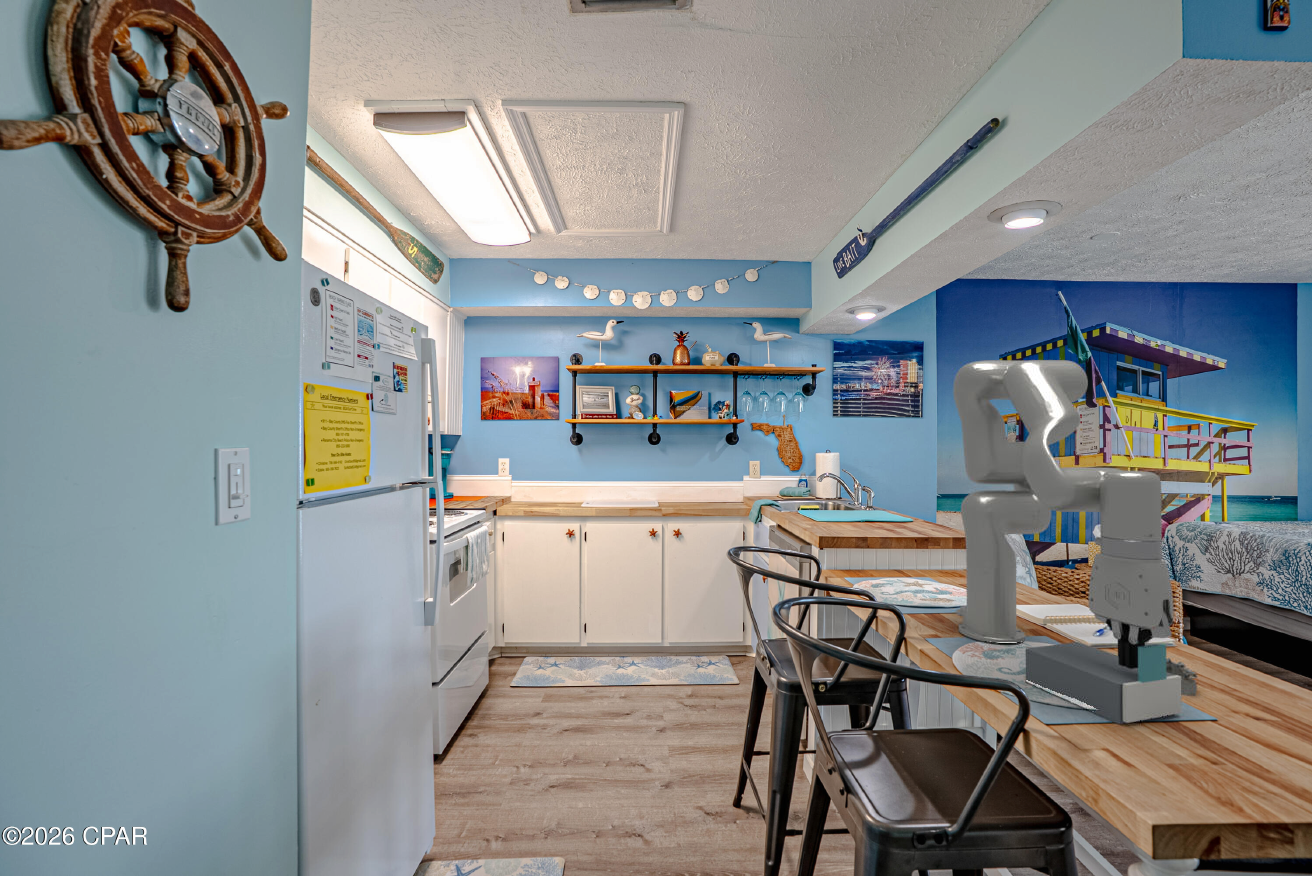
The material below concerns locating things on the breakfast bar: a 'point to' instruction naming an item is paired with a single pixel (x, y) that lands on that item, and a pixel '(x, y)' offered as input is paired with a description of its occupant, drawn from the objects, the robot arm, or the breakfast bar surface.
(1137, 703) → the grey drawer
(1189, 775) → the breakfast bar surface
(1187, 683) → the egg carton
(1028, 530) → the robot arm
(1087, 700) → the sleeve
